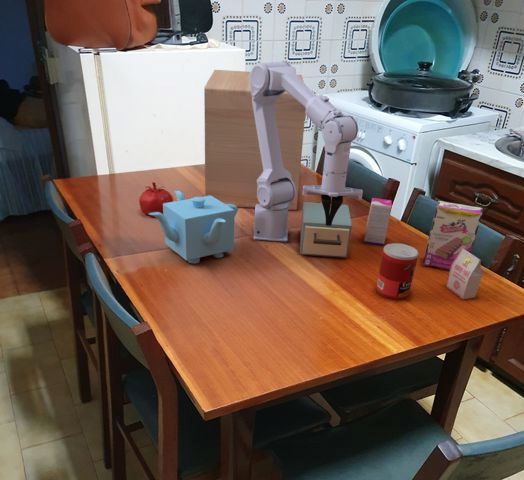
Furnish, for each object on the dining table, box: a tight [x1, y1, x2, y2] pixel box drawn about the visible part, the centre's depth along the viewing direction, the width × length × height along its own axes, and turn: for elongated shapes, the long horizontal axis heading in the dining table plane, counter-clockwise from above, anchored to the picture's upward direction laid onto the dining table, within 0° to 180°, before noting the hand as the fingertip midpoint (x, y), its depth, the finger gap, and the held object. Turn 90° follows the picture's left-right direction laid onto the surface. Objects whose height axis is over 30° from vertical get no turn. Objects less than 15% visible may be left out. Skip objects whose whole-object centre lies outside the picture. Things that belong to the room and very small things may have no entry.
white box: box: [445, 248, 483, 300], centre depth 131 cm, size 4×7×10 cm, turn 20°
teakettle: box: [148, 190, 239, 264], centre depth 140 cm, size 19×19×15 cm
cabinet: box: [299, 201, 353, 259], centre depth 150 cm, size 16×13×9 cm
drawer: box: [303, 225, 349, 257], centre depth 147 cm, size 20×11×7 cm, turn 176°
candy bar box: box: [422, 200, 484, 271], centre depth 140 cm, size 11×5×16 cm, turn 71°
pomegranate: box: [138, 181, 174, 216], centre depth 163 cm, size 10×10×9 cm
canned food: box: [376, 242, 419, 300], centre depth 128 cm, size 8×8×11 cm
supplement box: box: [363, 197, 393, 246], centre depth 154 cm, size 6×6×12 cm
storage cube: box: [203, 69, 306, 211], centre depth 178 cm, size 34×29×34 cm
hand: (328, 224), depth 139 cm, fingers closed
